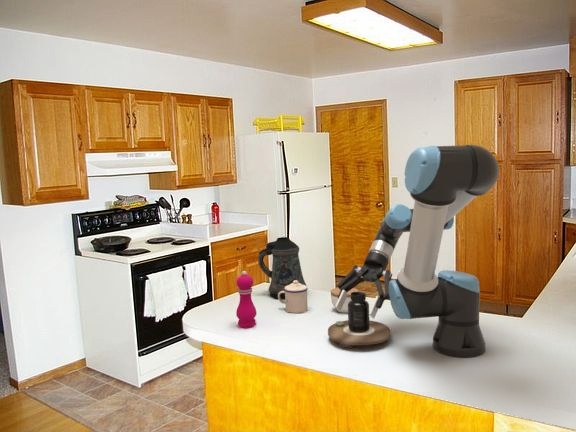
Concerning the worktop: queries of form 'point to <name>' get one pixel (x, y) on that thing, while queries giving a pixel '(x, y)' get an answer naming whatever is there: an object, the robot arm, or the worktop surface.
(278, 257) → the beer stein
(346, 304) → the lidded jar
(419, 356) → the worktop surface
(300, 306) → the teacup with lid
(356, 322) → the supplement bottle
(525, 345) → the worktop surface
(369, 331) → the stand
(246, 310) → the pepper mill
